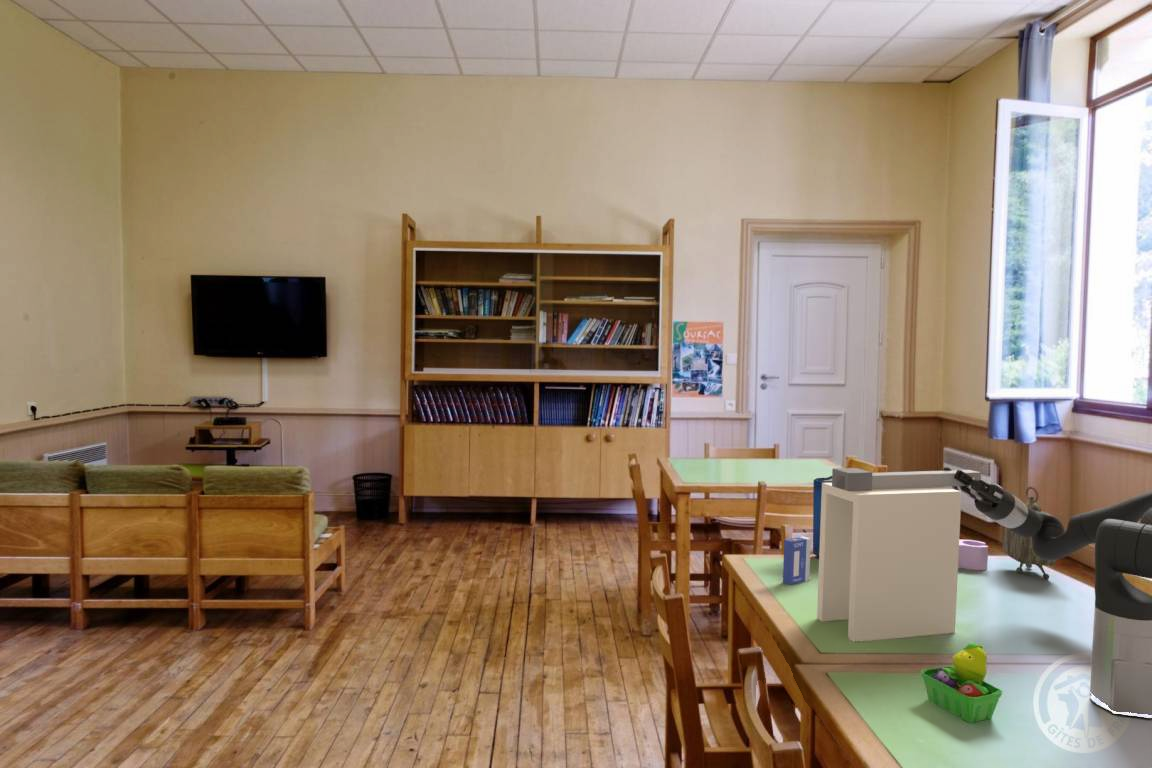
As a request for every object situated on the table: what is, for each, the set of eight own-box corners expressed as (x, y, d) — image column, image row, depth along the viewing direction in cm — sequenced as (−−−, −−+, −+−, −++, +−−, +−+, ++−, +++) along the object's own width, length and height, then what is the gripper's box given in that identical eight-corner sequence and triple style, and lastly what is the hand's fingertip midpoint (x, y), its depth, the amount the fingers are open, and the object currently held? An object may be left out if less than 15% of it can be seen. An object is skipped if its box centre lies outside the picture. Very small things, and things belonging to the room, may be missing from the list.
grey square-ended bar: (965, 481, 176) (965, 464, 176) (984, 486, 170) (985, 469, 170) (831, 486, 167) (832, 468, 167) (847, 491, 161) (848, 473, 161)
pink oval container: (981, 562, 223) (983, 539, 222) (990, 573, 211) (991, 550, 211) (909, 554, 229) (910, 532, 229) (913, 565, 218) (914, 542, 217)
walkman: (790, 585, 197) (792, 540, 196) (782, 582, 199) (784, 538, 198) (810, 580, 201) (811, 537, 200) (802, 577, 203) (803, 534, 203)
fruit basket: (916, 697, 134) (919, 636, 133) (953, 690, 137) (956, 630, 136) (970, 728, 123) (973, 662, 123) (1008, 720, 126) (1012, 655, 126)
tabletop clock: (1056, 582, 204) (1060, 492, 202) (1020, 580, 205) (1025, 491, 204) (1032, 567, 218) (1036, 483, 217) (999, 564, 219) (1003, 481, 218)
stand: (912, 610, 179) (917, 480, 177) (954, 632, 165) (961, 491, 164) (816, 618, 172) (821, 482, 171) (853, 641, 159) (859, 494, 157)
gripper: (1018, 527, 168) (965, 492, 164) (971, 513, 182) (921, 480, 178) (1033, 498, 169) (981, 462, 165) (985, 487, 182) (935, 453, 178)
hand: (950, 472), depth 171 cm, fingers closed on grey square-ended bar, 3 cm apart
